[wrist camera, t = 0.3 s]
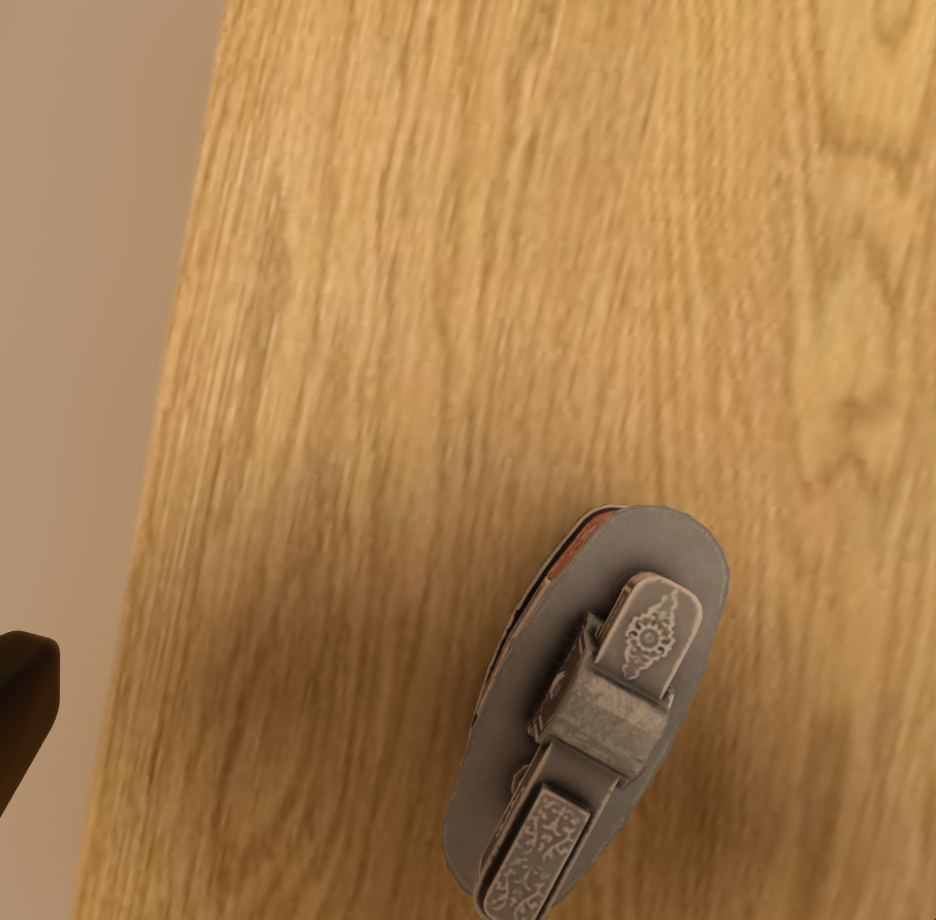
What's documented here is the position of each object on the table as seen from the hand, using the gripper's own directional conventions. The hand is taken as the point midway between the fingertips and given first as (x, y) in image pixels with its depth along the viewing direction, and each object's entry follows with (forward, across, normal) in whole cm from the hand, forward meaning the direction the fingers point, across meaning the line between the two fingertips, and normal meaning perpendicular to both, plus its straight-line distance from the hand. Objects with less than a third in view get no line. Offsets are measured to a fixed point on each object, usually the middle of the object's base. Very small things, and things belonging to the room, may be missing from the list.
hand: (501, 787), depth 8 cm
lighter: (+13, -3, +8) cm, 15 cm away
